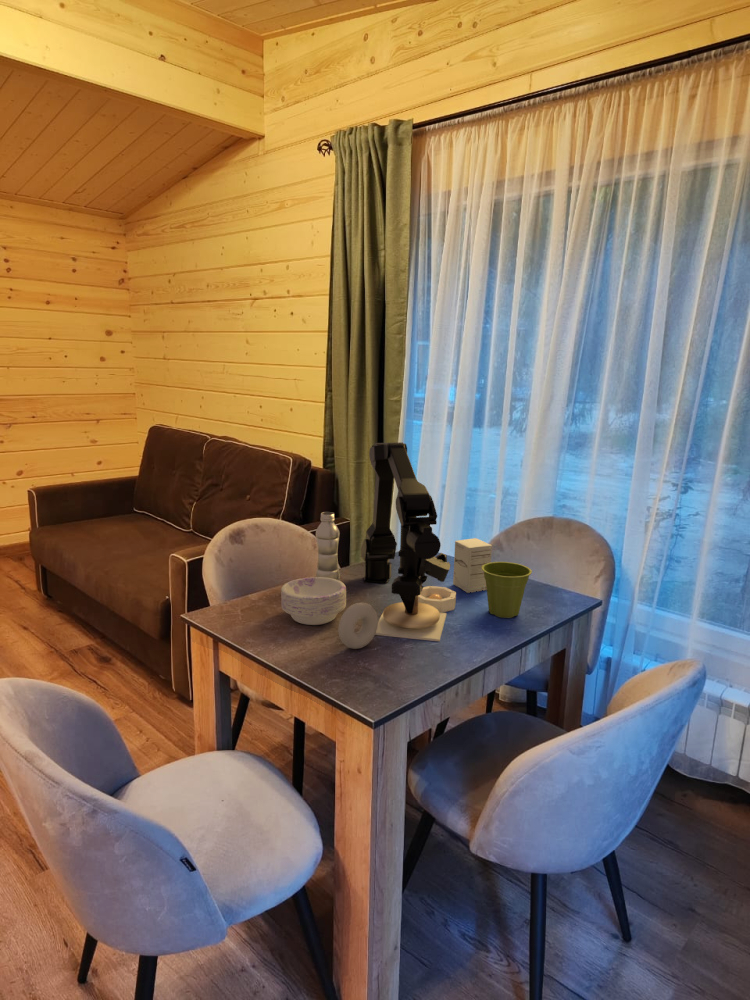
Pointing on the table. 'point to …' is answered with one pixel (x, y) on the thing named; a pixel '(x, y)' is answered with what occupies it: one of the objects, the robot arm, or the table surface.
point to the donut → (350, 620)
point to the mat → (412, 630)
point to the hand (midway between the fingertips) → (411, 610)
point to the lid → (411, 615)
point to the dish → (438, 598)
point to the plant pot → (505, 587)
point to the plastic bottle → (327, 547)
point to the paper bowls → (313, 599)
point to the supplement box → (471, 564)
